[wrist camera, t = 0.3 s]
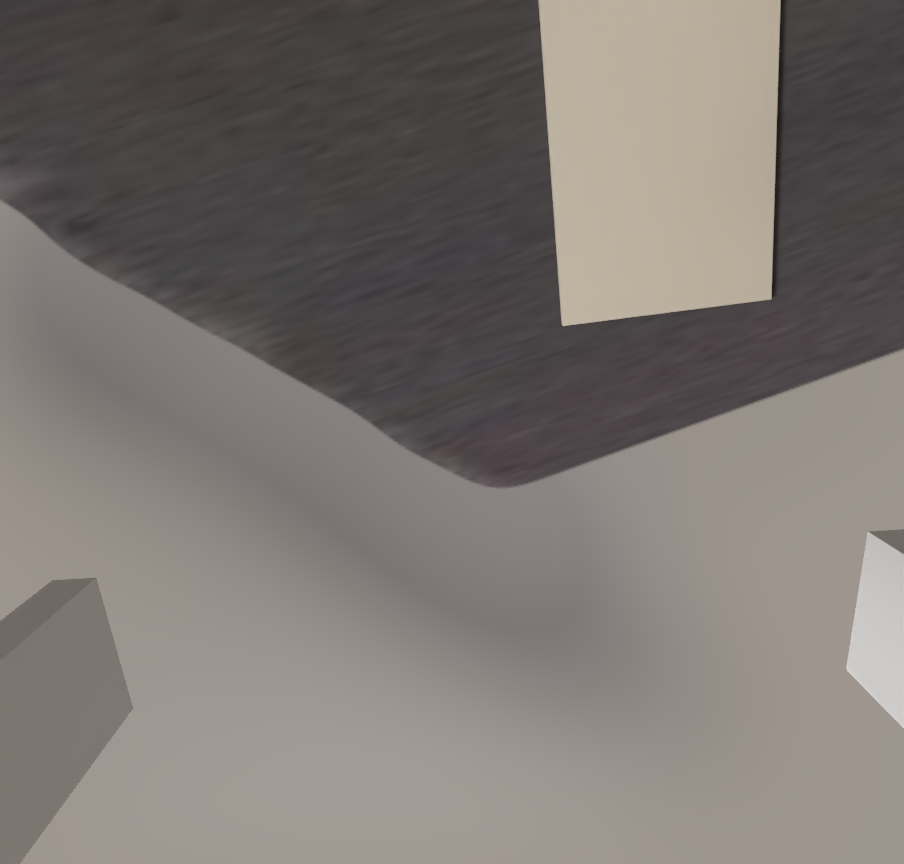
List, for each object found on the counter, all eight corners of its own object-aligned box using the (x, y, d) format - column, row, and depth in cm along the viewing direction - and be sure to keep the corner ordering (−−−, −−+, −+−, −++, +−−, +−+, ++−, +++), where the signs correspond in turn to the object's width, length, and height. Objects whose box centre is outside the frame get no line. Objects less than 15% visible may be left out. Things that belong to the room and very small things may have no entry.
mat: (538, -4, 31) (539, -8, 30) (777, -40, 30) (782, -45, 30) (561, 325, 35) (563, 325, 35) (768, 298, 35) (771, 299, 35)
